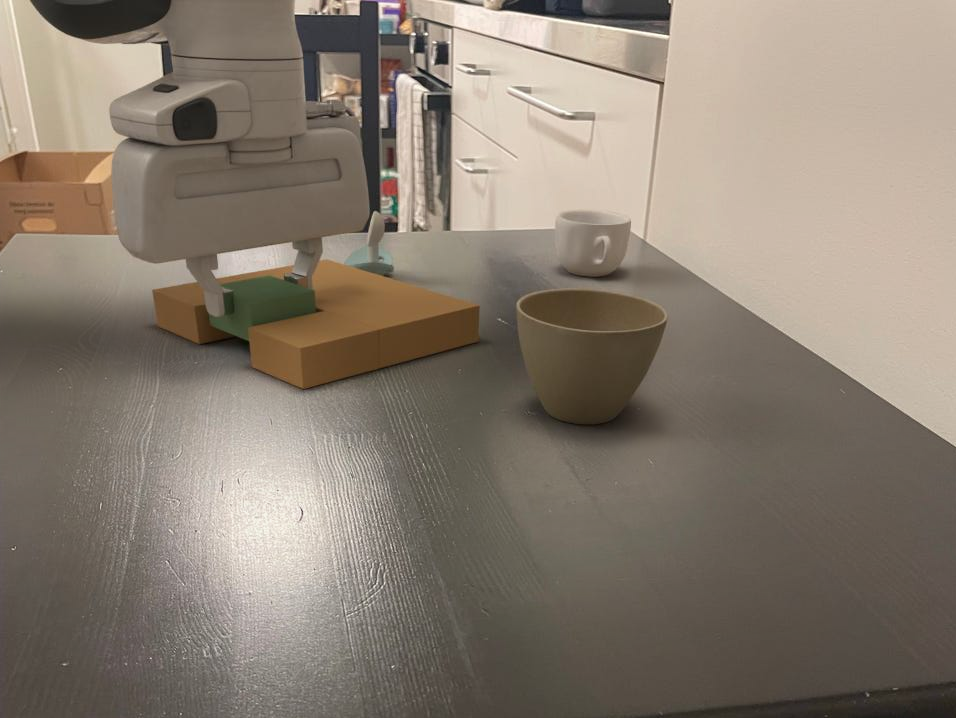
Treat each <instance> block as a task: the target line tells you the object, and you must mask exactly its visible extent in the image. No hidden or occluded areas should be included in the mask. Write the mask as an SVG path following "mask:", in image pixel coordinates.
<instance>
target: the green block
mask: <svg viewBox="0 0 956 718" xmlns="http://www.w3.org/2000/svg"><path fill="white" fill-rule="evenodd" d="M220 286H221V287H224V288H225V289H230V290H232V291H233V292H234V297H233V300H234V302H233V304H234V313H233V314H229V315H224V316H220V317H215V316H213V315H210V314H209V320H210V326H212V327H215V328H217V329H220V330H222V331H225V332H227V333H230V334H232V335H235V337H238V338H240V339H242V340H245V341H247V342H249V333H248V328H249V327H253V326H257V325H262V324H267V323H271V322H276V321H281V320H285V319H290V318H295V317H299V316H304V315H309V314H313V313H316V304H315V291H314V290H312V289H309V288H306V287H303V286H300V285H297V284H294V283H291V282H288V281H285V280H282V279H279V278H276V277H273V276H270V275H268V276H262V277H257V278H251V279H246V280H241V281H235V282H230V283H224V284H220Z"/></svg>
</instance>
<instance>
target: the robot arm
mask: <svg viewBox="0 0 956 718" xmlns="http://www.w3.org/2000/svg"><path fill="white" fill-rule="evenodd" d="M29 2H30V3H31V4H32V6H33V7H34V9H35V10H36V12H38V14H39V15H40V16H41V17H42V18H43V19H44V20H45V21H46V23H48V24H50V25H51V26H52V27H53V28H55V29H56V30H58V31H59V32H61V33H62V34H65V35H67V36H70V37H73V38H75V39H79V40H82V41H86V42H89V43H93V44H100V45H115V44H116V45H117V44H122V45H139V44H155V45H161V46H168V47H169V48H170V49H169V50H170V54H171V55H170V56H171V65H172V72H169V73H167V74H165V75H164V76H161V77H159V78H157V79H155V80H154V81H152V82H150V83H147V84H145V85H142V86H141V87H139V88H137V89H135V90H132V91H130V92H127V93H125V94H122V95H121V96H119V97H116V99H113V100H112V101H111V103H110V105H109V108H108V111H109V113H108V114H109V120H110V124H111V127H112V129H113V131H114V132H115V133H116V134H117V135H120V136H123V137H126V138H125V139H122V140H121V141H120V143H118V144H117V146H116V147H115V150H114V152H113V155H112V158H111V159H112V160H111V168H110V169H111V173H110V174H111V191H112V201H113V202H112V204H113V212H114V213H113V214H114V220H115V226H116V231H117V237H118V240H119V242H120V244H121V246H122V247H123V248H124V249H125V250H126V251H127V253H129V254H130V256H132V257H133V258H136V259H138V260H141V261H143V262H147V263H149V264H164V263H170V262H175V261H182V260H185V265H186V266H185V267H186V269H187V270H188V271H189V272H190V275H192V277H193V278H194V280H195V282H198V284H199V285H200V287H201V288H202V289H203V290H204V296H205V303H206V309H207V312H208V313H209V314H210V315H213V316H215V317H220V316H224V315H229V314H233V313H234V304H233V302H234V300H233V297H234V292H233V291H232V290H230V289H225V288H224V287H221V286H220V284H219V282H218V281H217V277H216V276H215V274H214V272H213V271H217V270H218V269H219V261H218V255H219V254H225V253H233V252H238V251H246V250H251V249H257V248H264V247H270V246H275V245H283V244H289V243H291V244H292V249H293V250H296V251H297V254H296V256H295V259H294V264H293V265H294V266H293V270H292V273H289V274H284V280H285V281H288V282H291V283H294V284H297V285H300V286H303V287H306V288H309V289H312V290H313V287H312V276H313V275H314V272H315V270H316V267H317V265H318V262H319V261H320V260H321V257H322V255H323V238H326V237H333V236H339V235H345V234H352V233H358V232H362V231H363V230H364V229H365V227H366V225H367V222H368V220H369V218H370V212H371V211H370V210H371V209H370V198H369V197H370V196H369V187H368V180H367V172H366V166H365V160H364V156H363V151H362V147H361V146H362V144H361V124H360V121H359V118H358V117H357V115H356V114H355V113H354V111H353V110H352V109H351V108H350V107H348V106H347V105H346V104H345V103H344V101H342V100H339V99H329V100H326V101H314V100H306V87H305V85H306V83H305V72H304V71H305V69H304V58H303V57H304V54H303V53H304V52H303V48H302V44H301V40H300V38H299V34H298V31H297V25H296V18H295V17H296V16H295V8H296V7H295V6H296V5H295V3H296V0H29ZM345 113H346V114H347V115H345Z"/></svg>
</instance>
